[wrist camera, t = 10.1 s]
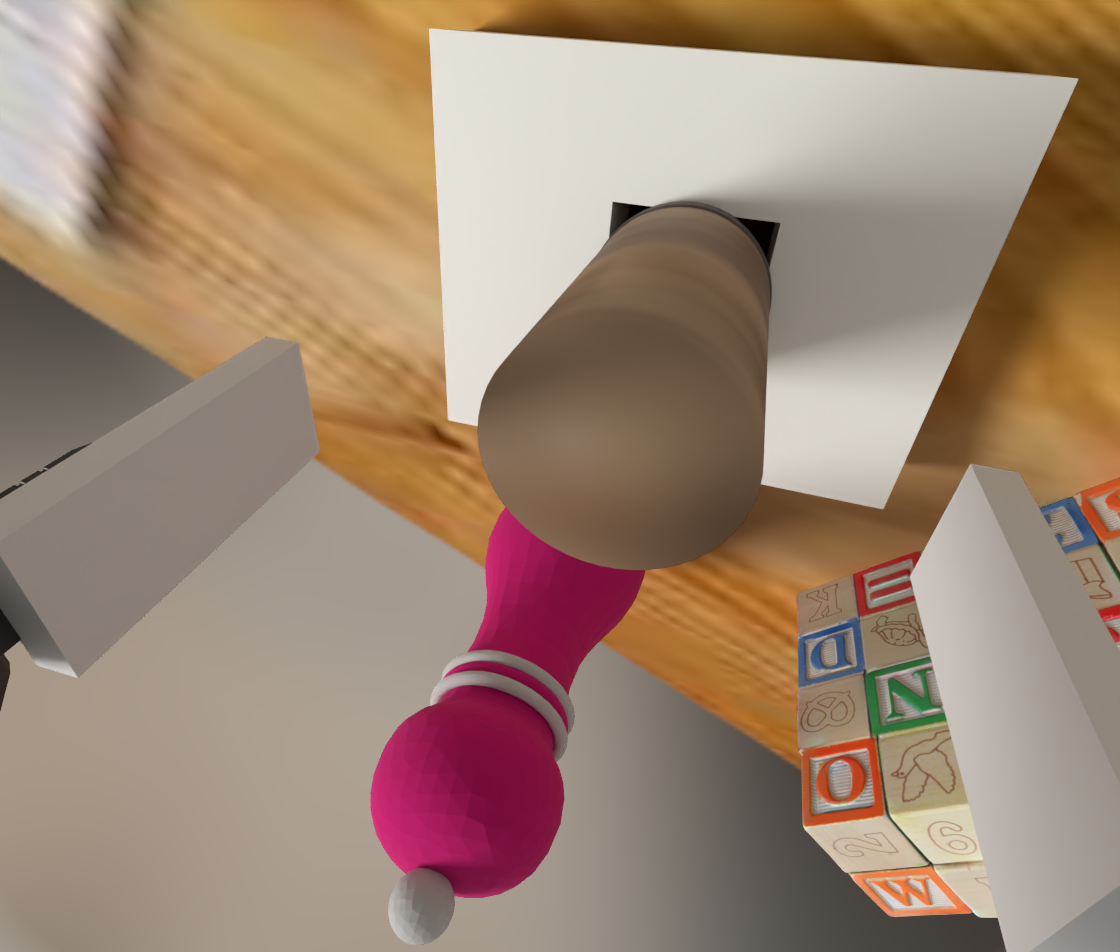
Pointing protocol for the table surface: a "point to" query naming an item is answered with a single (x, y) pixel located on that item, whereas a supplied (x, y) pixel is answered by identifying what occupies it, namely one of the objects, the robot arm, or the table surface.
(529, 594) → the pepper mill
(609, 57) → the cream board
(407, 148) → the table surface
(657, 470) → the walnut peg
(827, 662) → the stack of blocks
